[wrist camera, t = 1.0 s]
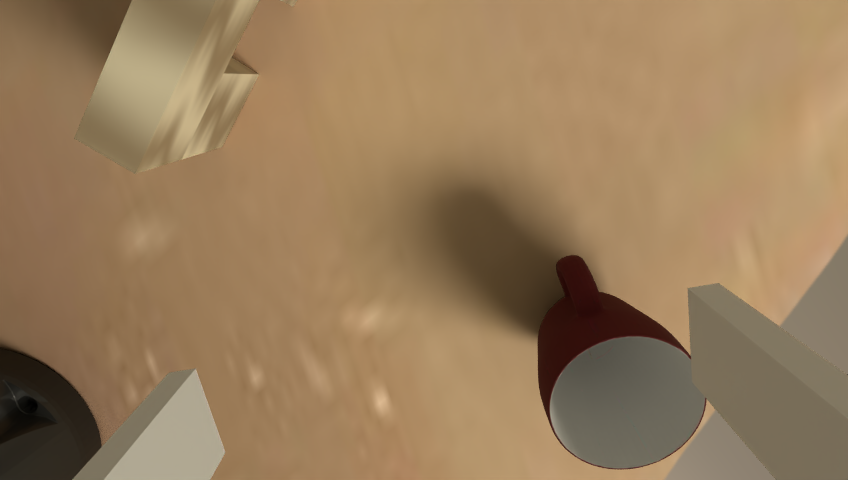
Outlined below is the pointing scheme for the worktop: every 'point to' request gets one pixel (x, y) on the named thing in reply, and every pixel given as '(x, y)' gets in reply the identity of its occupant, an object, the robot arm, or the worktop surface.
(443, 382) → the worktop surface
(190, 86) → the beige flat block
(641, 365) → the mug
